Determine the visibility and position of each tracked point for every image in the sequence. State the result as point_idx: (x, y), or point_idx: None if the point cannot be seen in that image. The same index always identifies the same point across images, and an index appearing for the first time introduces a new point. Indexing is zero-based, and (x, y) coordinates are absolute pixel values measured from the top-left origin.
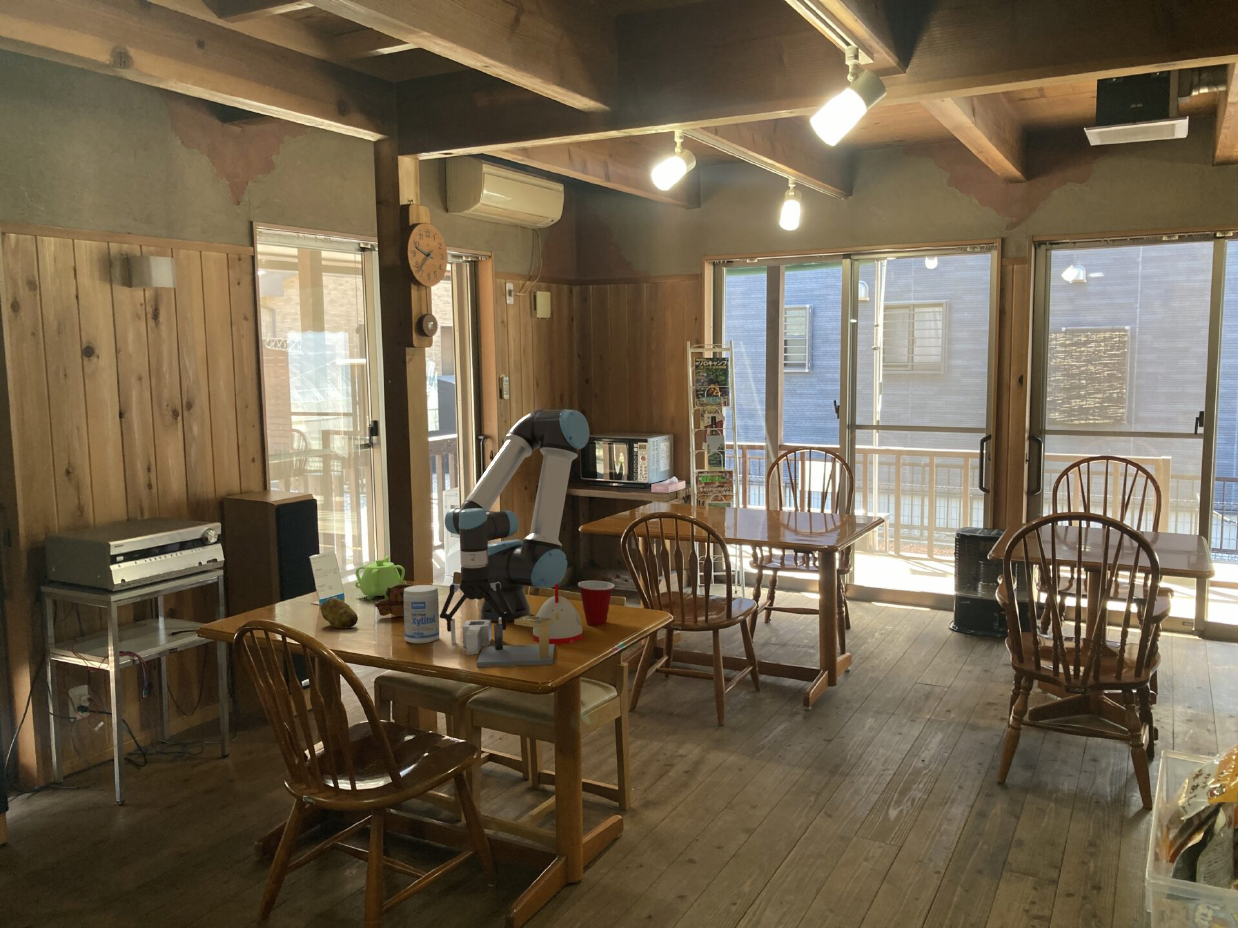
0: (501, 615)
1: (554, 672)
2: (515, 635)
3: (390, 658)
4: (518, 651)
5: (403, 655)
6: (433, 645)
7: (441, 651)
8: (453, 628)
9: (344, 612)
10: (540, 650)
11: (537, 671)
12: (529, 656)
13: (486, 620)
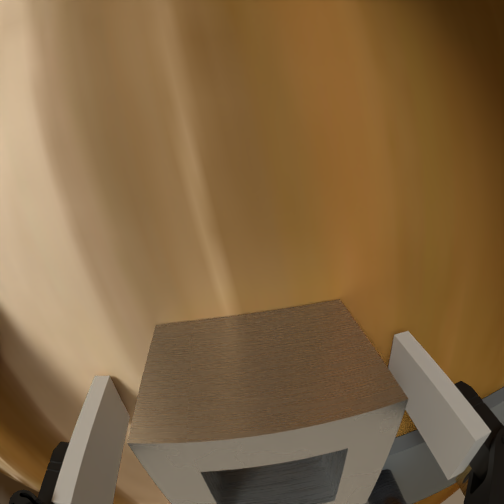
0: (476, 487)
1: (453, 487)
2: (469, 212)
3: (26, 482)
4: (428, 471)
5: (35, 473)
6: (39, 406)
7: (127, 471)
8: (114, 491)
9: None
10: (464, 491)
11: (429, 497)
12: (440, 481)
13: (362, 431)
